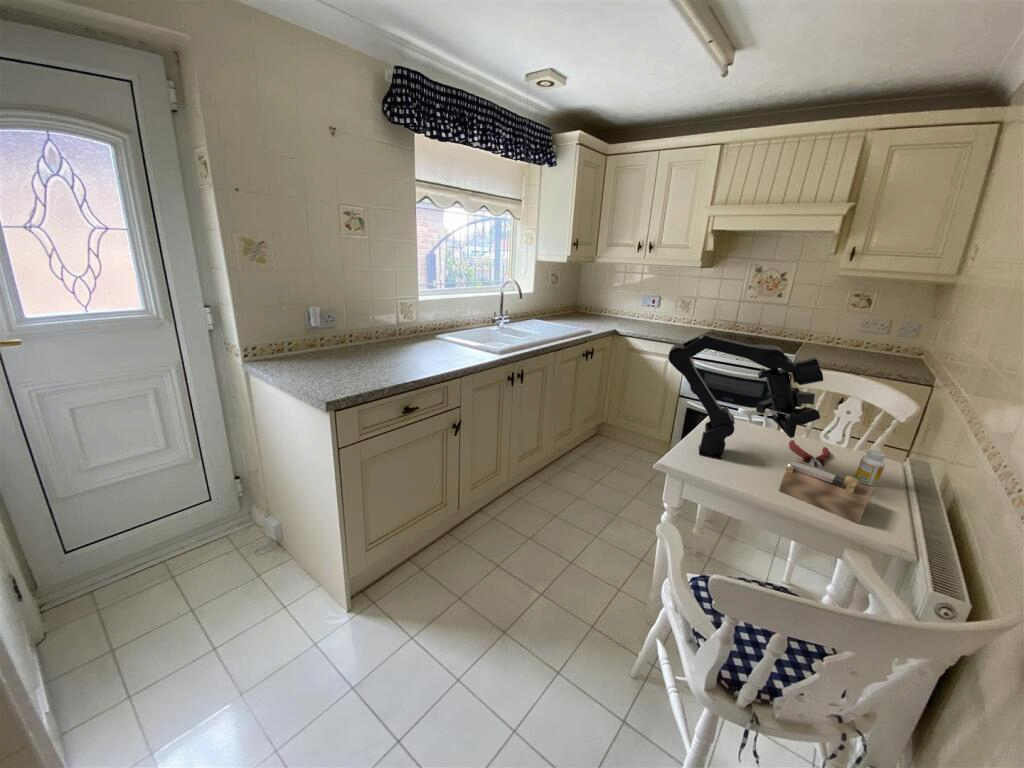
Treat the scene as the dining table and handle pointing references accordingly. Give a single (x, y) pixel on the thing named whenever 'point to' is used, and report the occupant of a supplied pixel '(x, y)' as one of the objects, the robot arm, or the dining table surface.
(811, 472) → the latch lever
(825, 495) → the storage box
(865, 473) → the supplement bottle
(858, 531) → the dining table surface
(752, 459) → the dining table surface
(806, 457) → the pliers
